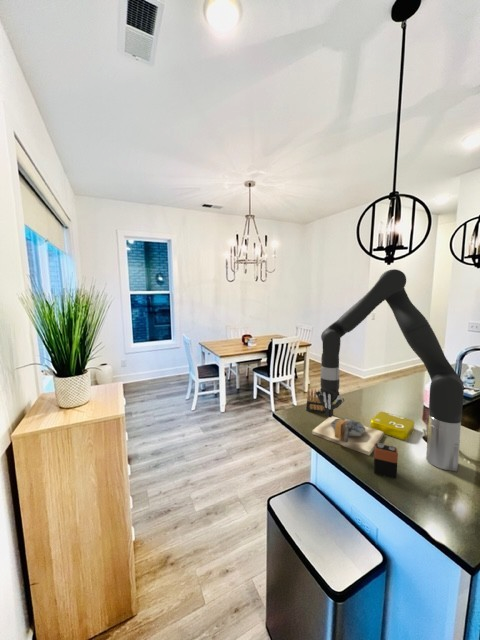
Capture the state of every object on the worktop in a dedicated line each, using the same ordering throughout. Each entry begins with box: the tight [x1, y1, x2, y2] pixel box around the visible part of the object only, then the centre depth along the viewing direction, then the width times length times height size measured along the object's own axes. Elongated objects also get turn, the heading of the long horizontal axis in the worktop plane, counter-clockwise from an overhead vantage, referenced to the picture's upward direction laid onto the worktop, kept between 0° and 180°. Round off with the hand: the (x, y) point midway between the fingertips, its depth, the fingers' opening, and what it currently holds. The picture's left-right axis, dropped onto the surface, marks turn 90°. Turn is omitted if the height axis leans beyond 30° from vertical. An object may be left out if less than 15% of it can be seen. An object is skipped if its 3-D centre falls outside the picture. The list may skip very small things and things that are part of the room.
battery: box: [373, 442, 399, 479], centre depth 92 cm, size 4×7×10 cm, turn 65°
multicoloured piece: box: [331, 418, 365, 439], centre depth 115 cm, size 18×13×6 cm
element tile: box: [369, 411, 415, 441], centre depth 123 cm, size 15×15×5 cm
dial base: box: [311, 415, 385, 457], centre depth 117 cm, size 24×20×8 cm
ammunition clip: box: [305, 388, 326, 414], centre depth 141 cm, size 11×2×12 cm, turn 69°
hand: (329, 416), depth 113 cm, fingers closed
